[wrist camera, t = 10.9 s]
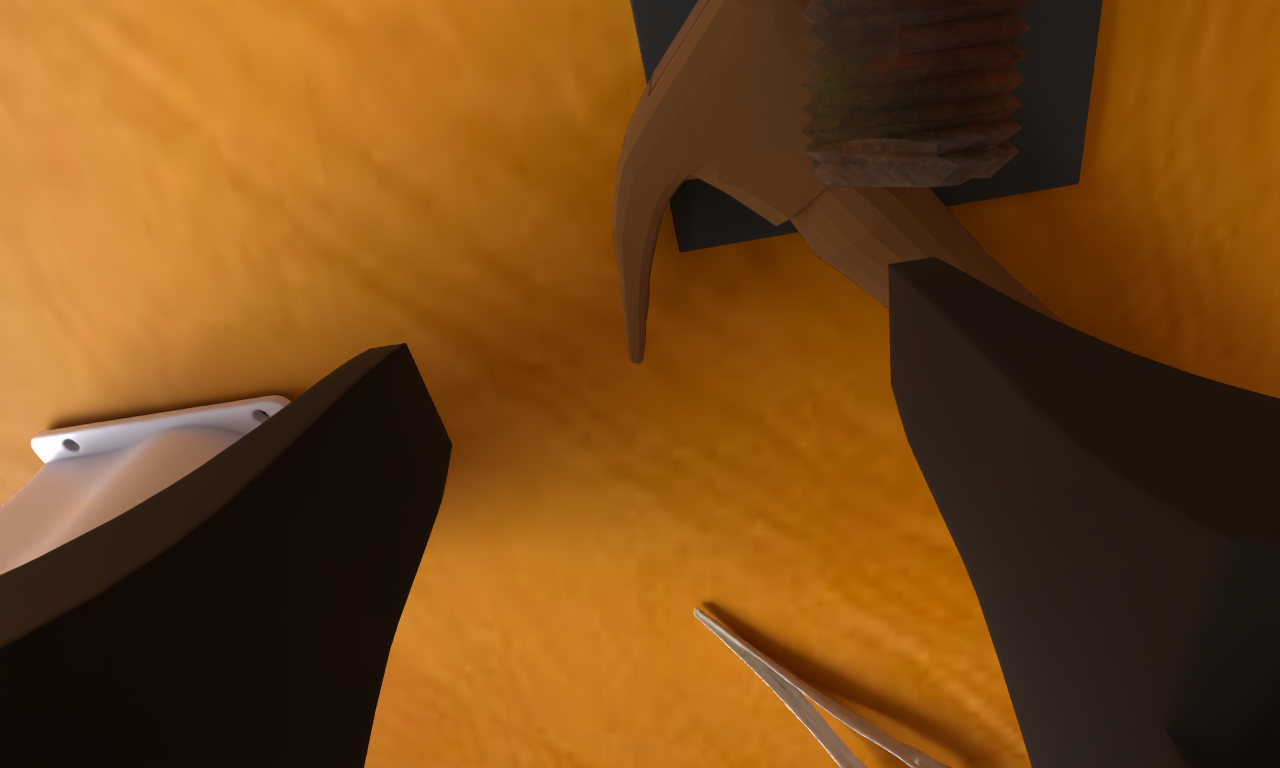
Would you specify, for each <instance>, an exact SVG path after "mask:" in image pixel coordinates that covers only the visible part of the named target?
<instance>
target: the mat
mask: <svg viewBox="0 0 1280 768" xmlns="http://www.w3.org/2000/svg"><path fill="white" fill-rule="evenodd" d="M630 1H631V6H632V11H633V16H634V21H635V26H636V32H637V37H638V42H639V47H640V52H641V57H642V62H643V67H644V72H645V78H646V83H647V85H648V83H649V81H650V79H651V77H652V75H653V72H654V70H655V69H656V67H657V66H658V64H659V63H660V61H661V59H662V58H663V56H664V54H665V53H666V51H667V50H668V48H669V46H670V45H671V43H672V42H673V40H674V38H675V37H676V35H677V34H678V32H679V31H680V29H681V28H682V26H683V24H684V23H685V21H686V20H687V18H688V16H689V15H690V13H691V11H692V10H693V8H694V6H695V5H696V3H697V2H698V0H630ZM1101 7H1102V0H1032V2H1031V3H1030V4H1029V5H1028V6H1026V7H1025V8H1024V9H1023V10H1021V11H1020V12H1019V13H1018V14H1016V16H1018V17H1019V18H1020V19H1021V20H1022V21H1023V22H1024V23H1026V24H1027V25H1028V26H1029V27H1030V28H1031V29H1030V30H1028V31H1027V32H1026V33H1024V34H1023V35H1021V36H1020V37H1019V38H1017V39H1016V40H1014V41H1013V42H1015V43H1016V44H1017V45H1018V46H1019V47H1020V48H1022V49H1023V50H1024V51H1025V52H1026V53H1027V54H1029V55H1027V56H1026V57H1025V58H1023V59H1022V60H1021V61H1019V62H1018V63H1017V64H1015V65H1014V66H1012V67H1013V68H1014V69H1015V70H1016V71H1017V72H1018V74H1019V75H1020V76H1021V77H1022V78H1023V79H1024V82H1023V83H1021V84H1020V85H1019V86H1017V87H1016V88H1014V89H1013V90H1012V91H1010V92H1011V93H1012V94H1013V95H1014V96H1015V97H1016V98H1017V99H1018V100H1019V101H1020V102H1021V103H1022V104H1023V106H1022V107H1020V108H1019V109H1018V110H1016V111H1015V112H1013V113H1012V114H1011V115H1009V116H1008V117H1010V118H1011V119H1012V120H1013V121H1015V122H1016V123H1017V124H1019V125H1020V126H1021V127H1022V129H1020V130H1019V131H1018V132H1016V133H1015V134H1014V135H1012V136H1011V137H1010V138H1009V139H1007V141H1008V142H1009V143H1011V144H1012V145H1013V146H1014V147H1016V148H1017V149H1018V150H1019V153H1018V154H1017V155H1015V156H1014V157H1013V158H1012V159H1010V160H1009V161H1008V162H1006V163H1005V164H1004V165H1003V166H1002V167H1001V168H1000V169H999V170H998V171H997V172H996V173H995V174H994V175H993V176H992V177H991V178H971V179H969V180H967V181H966V182H964V183H962V184H961V185H952V186H942V187H930V188H931V190H932V191H933V192H934V193H935V195H936V196H937V197H938V198H939V199H940V201H941V202H942V203H943V204H944V205H945V206H952V205H958V204H964V203H969V202H975V201H981V200H987V199H992V198H998V197H1004V196H1010V195H1016V194H1021V193H1027V192H1033V191H1039V190H1045V189H1050V188H1056V187H1062V186H1068V185H1074V184H1078V183H1079V179H1080V171H1081V163H1082V156H1083V148H1084V140H1085V132H1086V124H1087V117H1088V109H1089V101H1090V93H1091V85H1092V78H1093V70H1094V62H1095V54H1096V46H1097V39H1098V31H1099V23H1100V15H1101ZM670 206H671V211H672V216H673V221H674V226H675V231H676V236H677V241H678V247H679V251H680V252H686V251H691V250H697V249H703V248H709V247H715V246H720V245H726V244H732V243H738V242H743V241H749V240H755V239H761V238H767V237H772V236H778V235H784V234H790V233H796V232H798V230H797V229H796V228H795V226H794V225H793V223H792V222H791V221H790V219H789V220H787V221H785V222H783V223H782V224H780V225H778V226H775V225H774V224H772V223H771V222H769V221H768V220H766V219H765V218H763V217H762V216H760V215H759V214H757V213H756V212H754V211H753V210H751V209H750V208H748V207H747V206H745V205H744V204H742V203H741V202H739V201H738V200H736V199H735V198H733V197H732V196H730V195H729V194H727V193H725V192H724V191H722V190H720V189H718V188H716V187H714V186H712V185H711V184H709V183H707V182H705V181H703V180H701V179H700V178H698V179H692V180H686V181H683V182H682V184H681V185H680V186H679V187H678V189H677V190H676V191H675V193H674V194H673V195H672V197H671V198H670Z"/></svg>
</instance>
